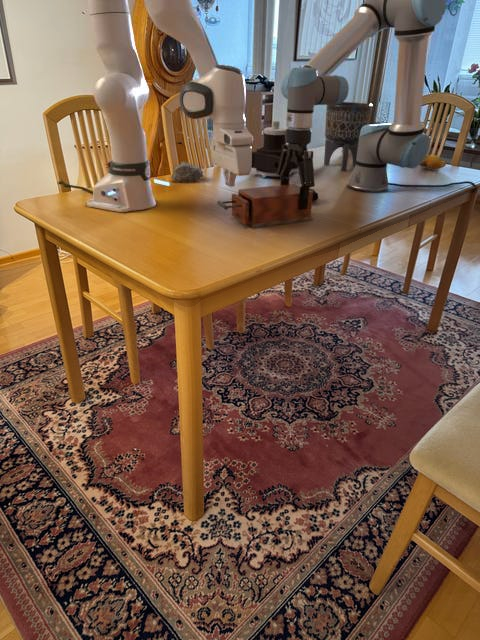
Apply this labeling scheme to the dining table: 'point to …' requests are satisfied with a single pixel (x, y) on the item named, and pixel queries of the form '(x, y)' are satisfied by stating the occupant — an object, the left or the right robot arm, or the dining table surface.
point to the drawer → (239, 208)
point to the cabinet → (276, 205)
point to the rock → (186, 173)
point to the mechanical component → (270, 152)
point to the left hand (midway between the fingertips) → (229, 185)
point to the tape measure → (314, 195)
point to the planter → (345, 129)
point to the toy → (432, 162)
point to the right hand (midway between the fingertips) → (292, 204)
